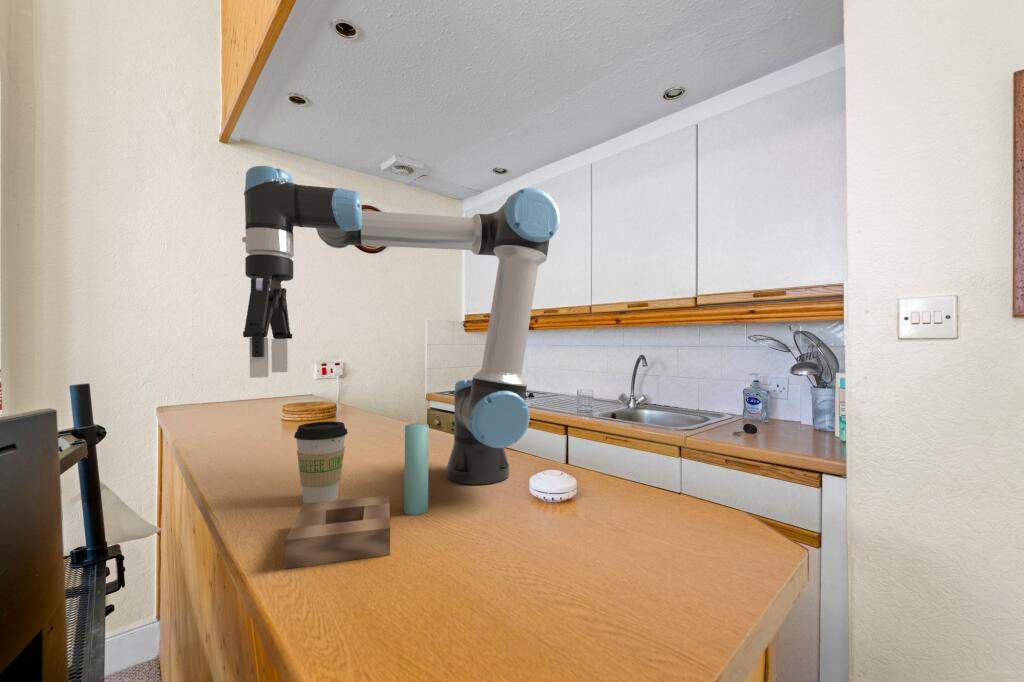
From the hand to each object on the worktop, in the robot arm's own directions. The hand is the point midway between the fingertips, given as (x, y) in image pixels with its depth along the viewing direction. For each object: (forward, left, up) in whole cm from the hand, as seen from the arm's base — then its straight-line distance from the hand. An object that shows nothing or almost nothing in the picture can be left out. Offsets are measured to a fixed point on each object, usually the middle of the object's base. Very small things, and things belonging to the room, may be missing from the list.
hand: (270, 374), depth 75 cm
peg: (-26, +4, -26) cm, 36 cm away
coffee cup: (-8, -7, -26) cm, 28 cm away
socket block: (-14, +13, -26) cm, 32 cm away
